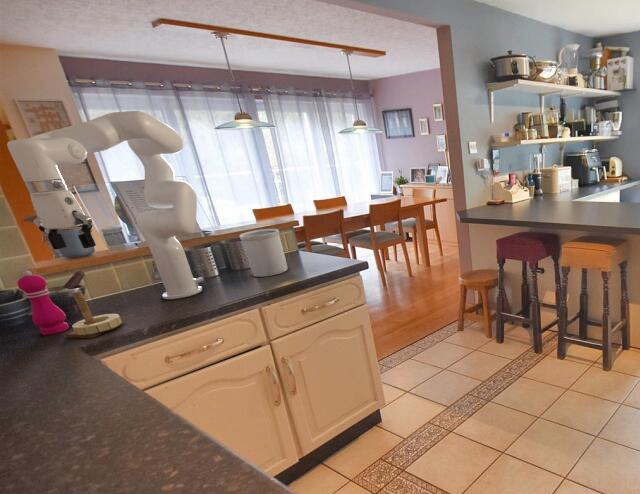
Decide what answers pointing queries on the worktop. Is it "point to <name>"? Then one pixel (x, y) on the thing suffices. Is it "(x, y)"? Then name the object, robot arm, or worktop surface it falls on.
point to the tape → (97, 324)
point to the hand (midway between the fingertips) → (75, 247)
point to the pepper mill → (42, 305)
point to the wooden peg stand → (85, 316)
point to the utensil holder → (264, 252)
